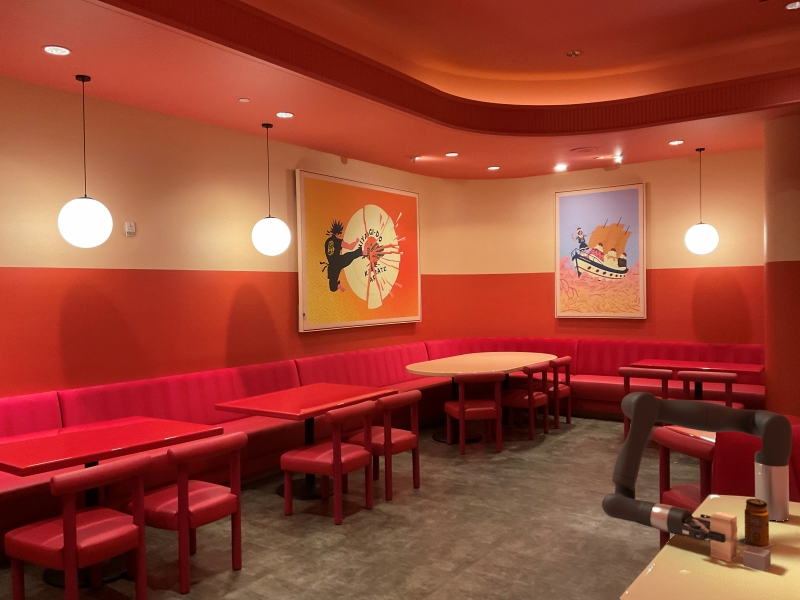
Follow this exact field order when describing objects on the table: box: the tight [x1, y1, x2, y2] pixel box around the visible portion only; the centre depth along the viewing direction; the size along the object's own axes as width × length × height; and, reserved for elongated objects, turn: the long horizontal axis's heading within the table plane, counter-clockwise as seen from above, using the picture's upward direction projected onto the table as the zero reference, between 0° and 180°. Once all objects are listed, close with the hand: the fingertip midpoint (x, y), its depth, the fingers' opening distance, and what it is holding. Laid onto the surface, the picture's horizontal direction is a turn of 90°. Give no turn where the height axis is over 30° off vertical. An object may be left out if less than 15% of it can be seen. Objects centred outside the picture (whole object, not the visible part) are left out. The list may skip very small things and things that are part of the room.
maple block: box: [709, 511, 738, 563], centre depth 172 cm, size 5×5×11 cm
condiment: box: [737, 498, 776, 550], centre depth 180 cm, size 7×8×12 cm
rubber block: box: [742, 546, 772, 573], centre depth 166 cm, size 5×5×4 cm
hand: (731, 534), depth 171 cm, fingers open, 8 cm apart
